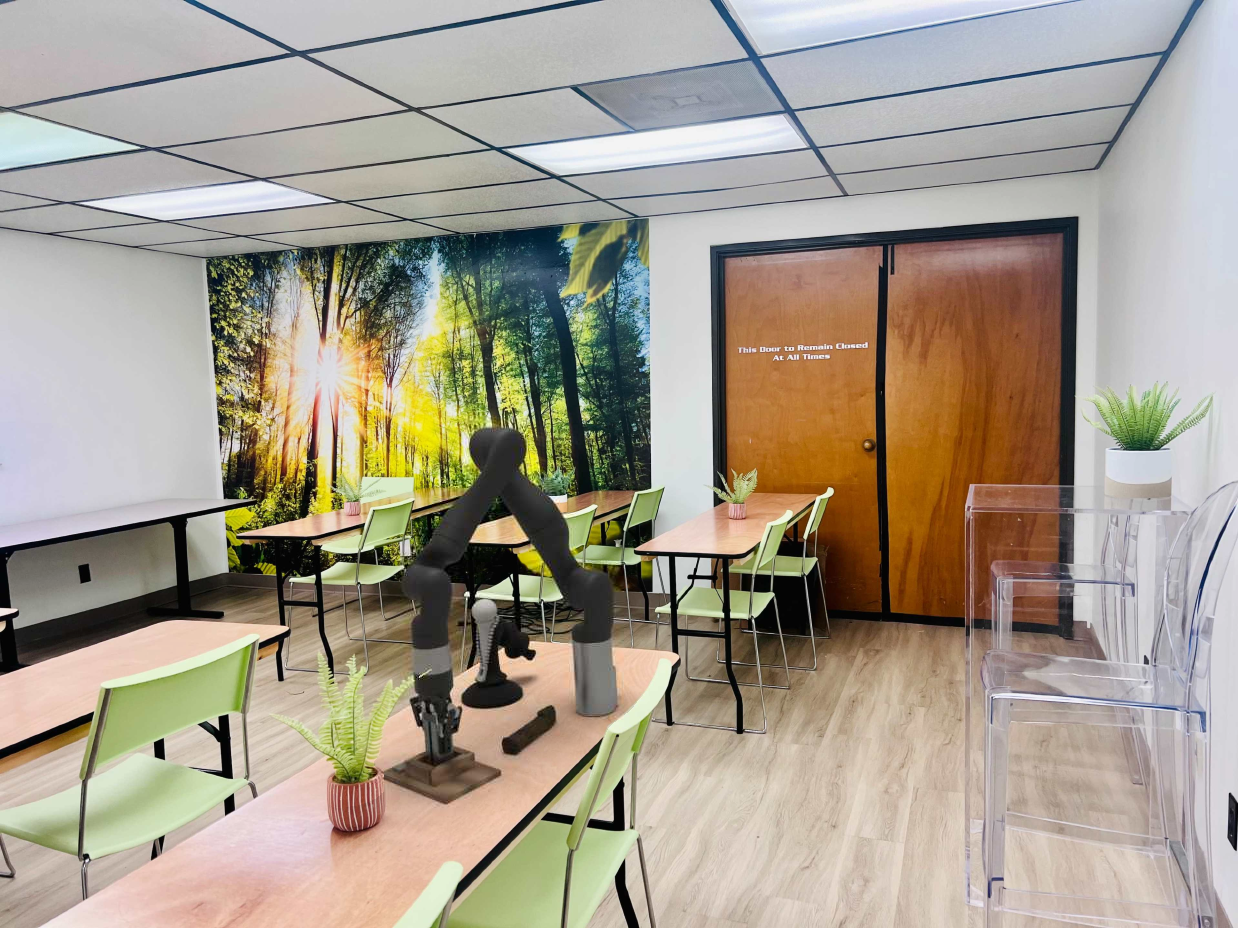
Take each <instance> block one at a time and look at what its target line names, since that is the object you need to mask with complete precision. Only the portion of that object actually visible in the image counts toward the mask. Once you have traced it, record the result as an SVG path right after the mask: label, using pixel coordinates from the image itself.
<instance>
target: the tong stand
mask: <svg viewBox="0 0 1238 928" xmlns="http://www.w3.org/2000/svg"><path fill="white" fill-rule="evenodd" d="M453 750H454V758H453V759H451V760H449V761H447V762H445V763H443V764H441V765H439V766H437V767H433V766H431V765H428V764H426V750H424V751H423V752H421V753H418V754H417V755H414V756H412V757H409V758H408V759H405V760H404V761H402V762H400V763H398V764H396V765H394V766H391V767H389V768H387V769H385V770H384V771H381V772H382V773H383V774H384V778H385V779H384V780H385V781H388V782H390V783H393V784H396V785H398V786H401V787H403V788H405V789H408V790H411V791H413V792H415V793H418V794H421V795H422V796H425V797H428V798H430V799H433V800H434V801H438V802H440V803H442V804H444V805H447V804H449V803H451V802H452V801H455V800H457V799H459V798H460V797H462V796H464V795H466V794H469V792H472V791H474V790H475V789H477V788H479V787H481V786H483V785H485V784H487V783H489V782H491V781H493V780H495V779H496V778H498V777H500V776H502V770H501V769H499V768H497V767H493V766H491V765H487V764H485V763H481V762H479V761H477V760H476V759H475V758H476V757H475V752H473V751H472V750H471V751H470V750H467V749H465V748H461V747H459V746H455V745H453Z"/></svg>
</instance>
